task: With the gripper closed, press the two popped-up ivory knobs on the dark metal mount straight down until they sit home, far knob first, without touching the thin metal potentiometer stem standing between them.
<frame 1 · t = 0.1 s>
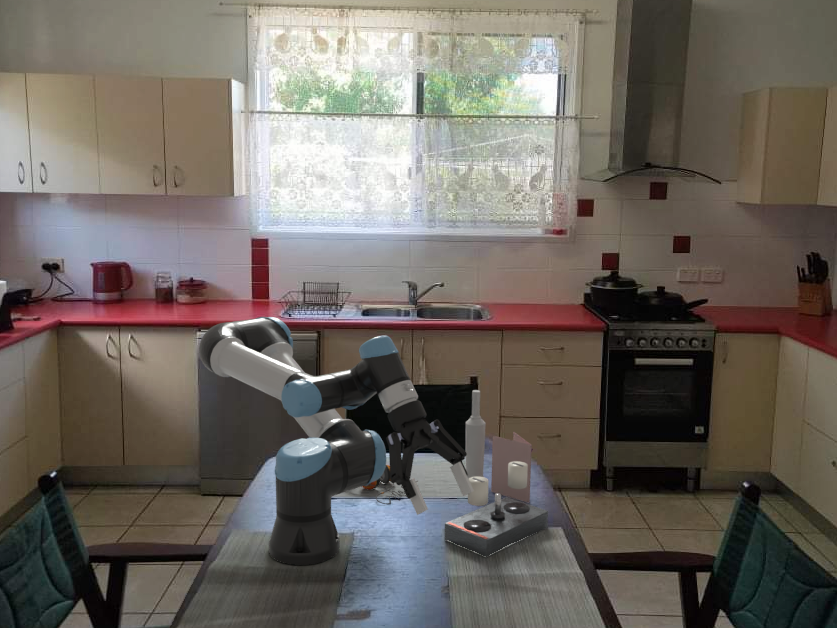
hand: (446, 502, 162), 15 cm above the table, tool tilted 35°, fingers open, 13 cm apart
headphones: (380, 488, 210), on the table
bottle: (474, 483, 214), on the table
mount: (497, 533, 183), on the table
knob near: (478, 490, 177), point 12 cm above the table, slide at 0.0 cm
greeting card: (510, 496, 206), on the table
knob far: (517, 474, 186), point 12 cm above the table, slide at 0.0 cm
potentiometer stem: (497, 517, 183), point 4 cm above the table, touching mount
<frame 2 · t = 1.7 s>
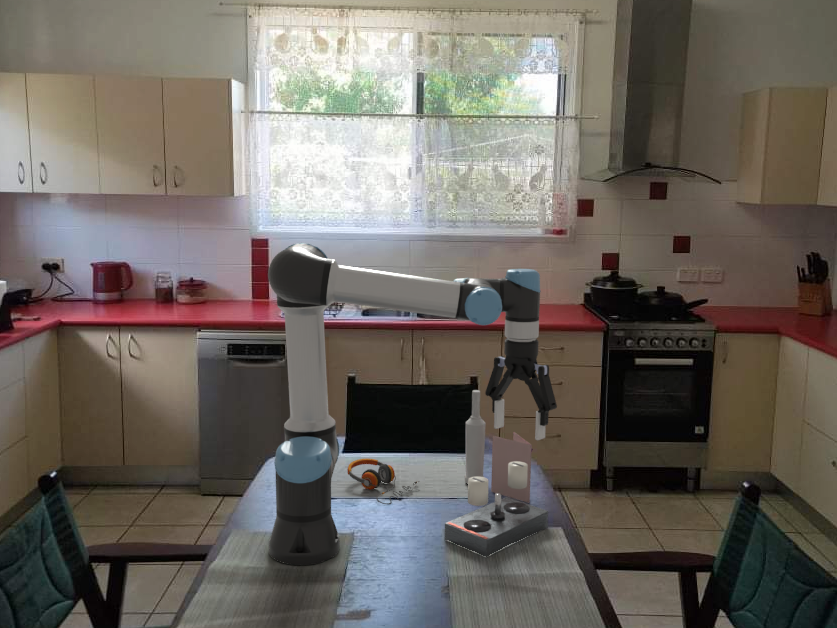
hand: (519, 432, 185), 22 cm above the table, tool pointing down, fingers open, 11 cm apart
nothing on the table moved.
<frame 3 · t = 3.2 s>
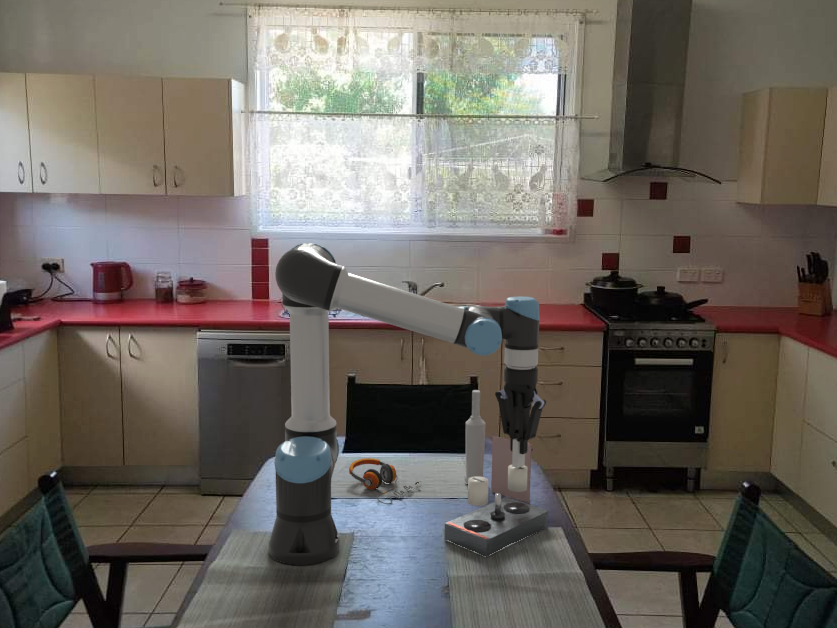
hand: (518, 465, 186), 14 cm above the table, tool pointing down, fingers closed
knob far: (517, 477, 186), point 11 cm above the table, slide at 0.7 cm, touching gripper
everything else where it was.
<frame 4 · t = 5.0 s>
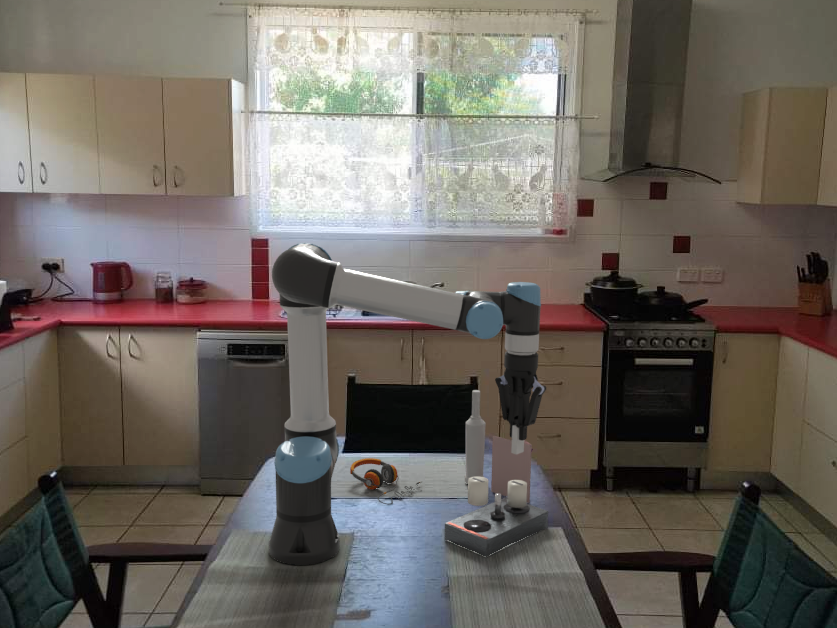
hand: (517, 452, 185), 18 cm above the table, tool pointing down, fingers closed
knob far: (517, 493, 187), point 8 cm above the table, slide at 4.5 cm
everything else where it was.
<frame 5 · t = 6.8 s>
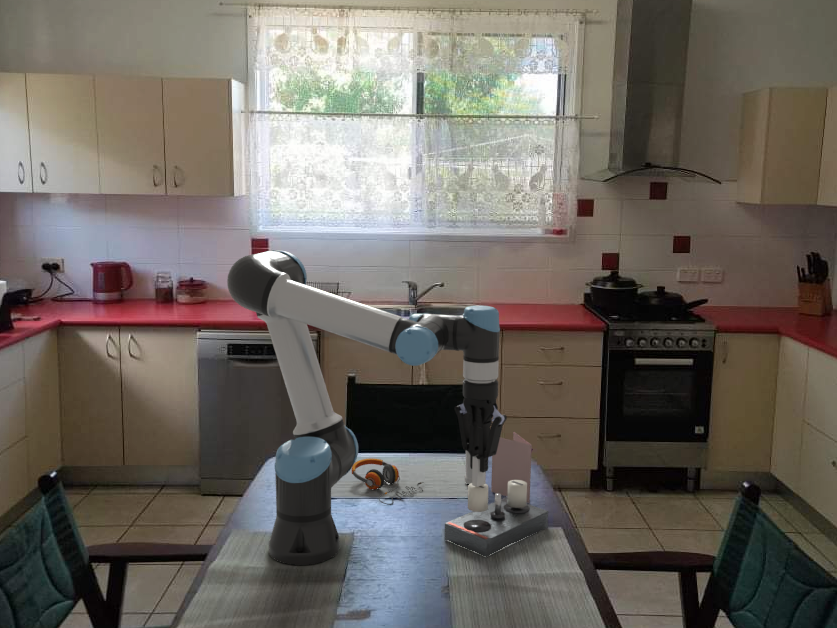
hand: (478, 484, 176), 14 cm above the table, tool pointing down, fingers closed
knob near: (477, 496, 177), point 11 cm above the table, slide at 1.4 cm, touching gripper
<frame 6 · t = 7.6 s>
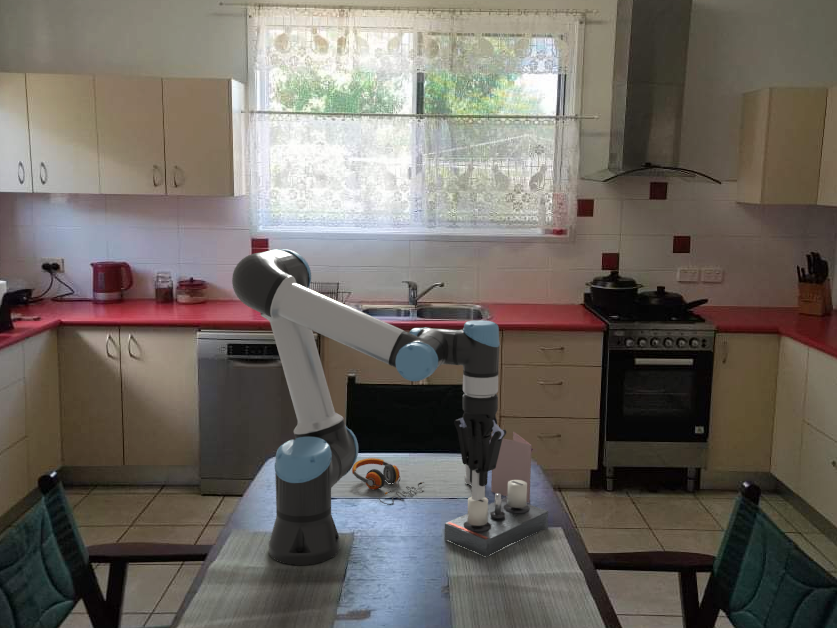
hand: (478, 498, 177), 10 cm above the table, tool pointing down, fingers closed
knob near: (477, 510, 177), point 8 cm above the table, slide at 4.5 cm, touching gripper
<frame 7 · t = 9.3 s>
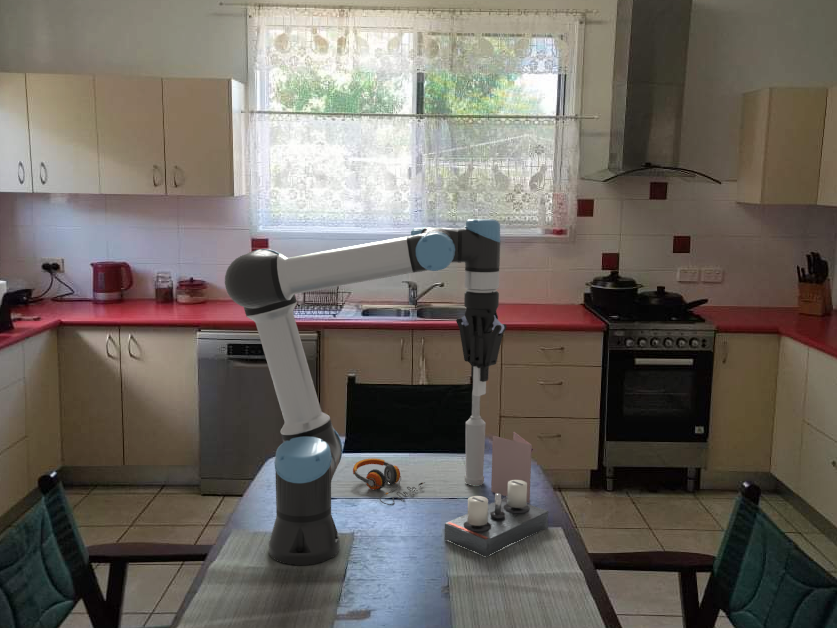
hand: (479, 394, 181), 32 cm above the table, tool pointing down, fingers closed
knob near: (477, 510, 177), point 8 cm above the table, slide at 4.5 cm
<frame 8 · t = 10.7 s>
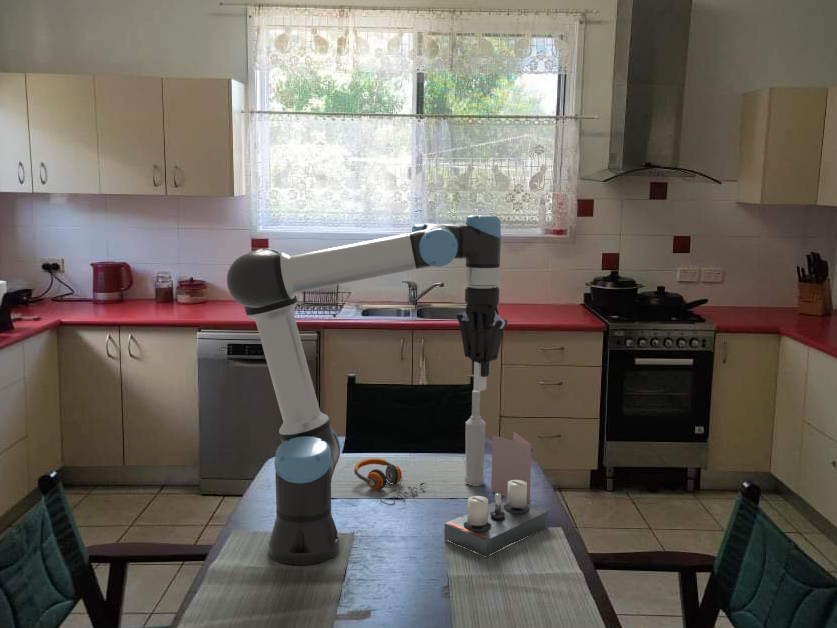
hand: (479, 389, 182), 32 cm above the table, tool pointing down, fingers closed
at the end: knob far slide at 4.5 cm; knob near slide at 4.5 cm; potentiometer stem tilted 0° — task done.
